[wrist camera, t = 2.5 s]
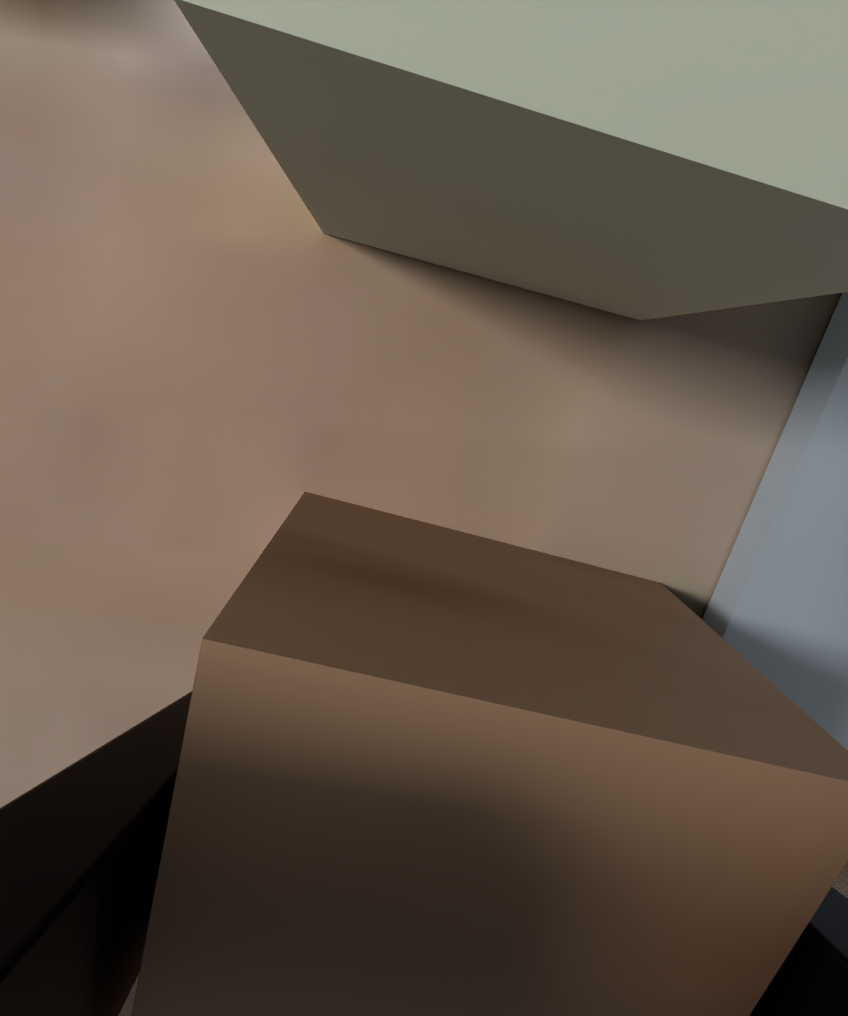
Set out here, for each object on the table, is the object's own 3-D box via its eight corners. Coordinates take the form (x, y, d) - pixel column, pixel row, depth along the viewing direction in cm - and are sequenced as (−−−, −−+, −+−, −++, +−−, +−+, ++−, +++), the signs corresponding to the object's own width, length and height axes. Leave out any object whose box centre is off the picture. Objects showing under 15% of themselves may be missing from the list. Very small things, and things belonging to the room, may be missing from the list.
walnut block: (539, 848, 11) (635, 1193, 6) (237, 791, 10) (109, 1132, 6) (656, 579, 9) (892, 791, 5) (306, 489, 8) (202, 638, 4)
